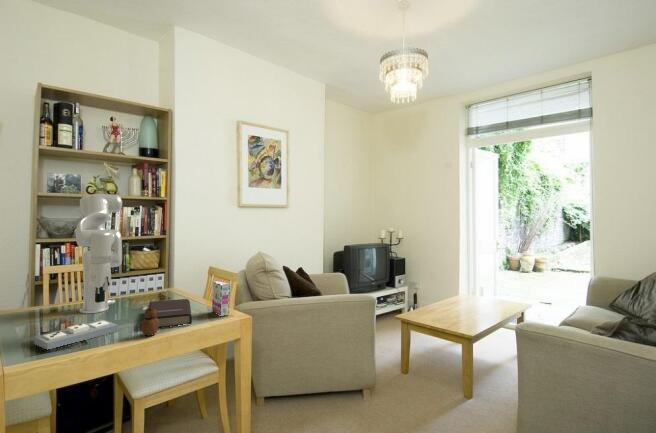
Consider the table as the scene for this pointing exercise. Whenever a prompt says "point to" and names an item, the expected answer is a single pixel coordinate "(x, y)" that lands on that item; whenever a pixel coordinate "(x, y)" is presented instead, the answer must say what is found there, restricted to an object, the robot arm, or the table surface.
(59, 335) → the three dot tile
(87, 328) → the two dot tile
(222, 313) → the candy bar box
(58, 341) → the tile board
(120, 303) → the table surface
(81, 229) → the robot arm
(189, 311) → the book
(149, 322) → the wooden figurine
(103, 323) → the one dot tile
